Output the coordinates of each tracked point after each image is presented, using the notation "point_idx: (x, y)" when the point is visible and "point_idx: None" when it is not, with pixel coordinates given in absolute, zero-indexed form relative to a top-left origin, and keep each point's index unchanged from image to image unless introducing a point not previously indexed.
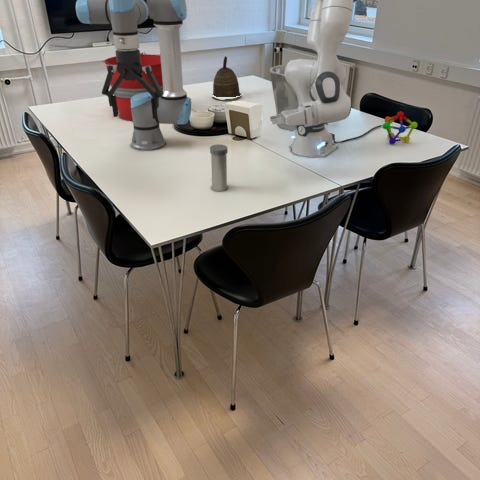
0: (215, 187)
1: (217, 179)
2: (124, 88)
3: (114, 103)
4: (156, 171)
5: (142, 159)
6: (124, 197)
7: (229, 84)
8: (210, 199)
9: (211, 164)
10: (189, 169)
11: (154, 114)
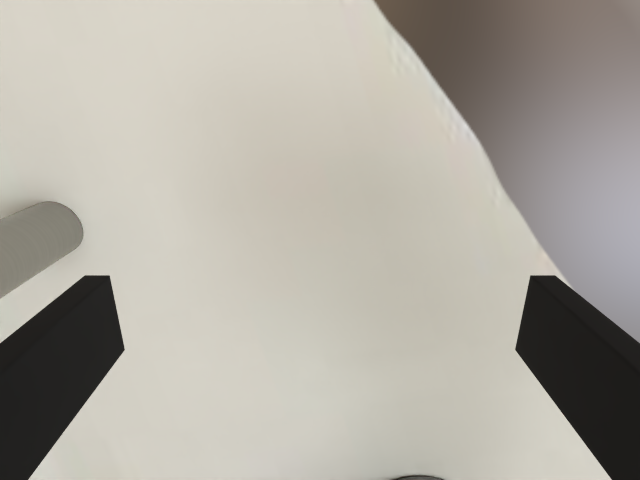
0: (52, 207)
1: (18, 215)
2: None
3: (628, 391)
4: (327, 329)
5: (404, 412)
6: (382, 100)
7: None
8: (49, 128)
9: (11, 257)
10: (217, 357)
11: (59, 299)
